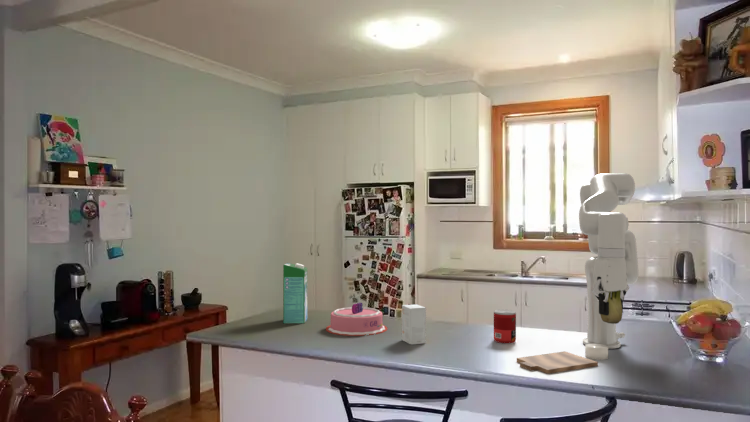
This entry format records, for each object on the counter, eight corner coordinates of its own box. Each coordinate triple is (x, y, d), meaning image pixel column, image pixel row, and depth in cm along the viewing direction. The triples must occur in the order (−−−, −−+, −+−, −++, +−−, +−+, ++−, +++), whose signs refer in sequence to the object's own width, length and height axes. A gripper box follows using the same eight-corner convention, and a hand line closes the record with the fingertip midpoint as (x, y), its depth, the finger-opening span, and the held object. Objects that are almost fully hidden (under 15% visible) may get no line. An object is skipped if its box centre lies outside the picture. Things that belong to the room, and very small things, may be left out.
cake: (366, 339, 206) (366, 311, 206) (313, 331, 219) (313, 305, 219) (398, 327, 227) (398, 301, 227) (347, 320, 240) (347, 296, 240)
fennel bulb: (598, 323, 167) (598, 283, 167) (603, 320, 171) (604, 281, 170) (618, 325, 163) (619, 285, 163) (623, 322, 167) (623, 283, 167)
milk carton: (304, 323, 233) (304, 264, 233) (283, 323, 233) (283, 264, 233) (307, 319, 242) (307, 262, 242) (286, 319, 242) (287, 262, 242)
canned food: (516, 344, 198) (516, 313, 198) (493, 343, 200) (493, 312, 200) (515, 339, 206) (515, 309, 206) (493, 338, 207) (493, 309, 207)
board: (564, 354, 184) (564, 351, 184) (597, 365, 171) (597, 362, 171) (510, 362, 174) (510, 358, 174) (541, 374, 161) (541, 370, 161)
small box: (426, 343, 199) (426, 307, 199) (410, 345, 197) (410, 308, 197) (417, 338, 207) (417, 303, 207) (401, 339, 204) (401, 304, 204)
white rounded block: (596, 353, 186) (596, 342, 186) (612, 358, 180) (613, 347, 180) (580, 355, 183) (580, 345, 183) (597, 361, 177) (597, 349, 177)
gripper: (619, 251, 174) (619, 309, 174) (580, 254, 166) (580, 314, 166) (640, 253, 167) (640, 313, 167) (601, 256, 159) (601, 318, 160)
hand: (610, 313), depth 167 cm, fingers closed on fennel bulb, 5 cm apart
